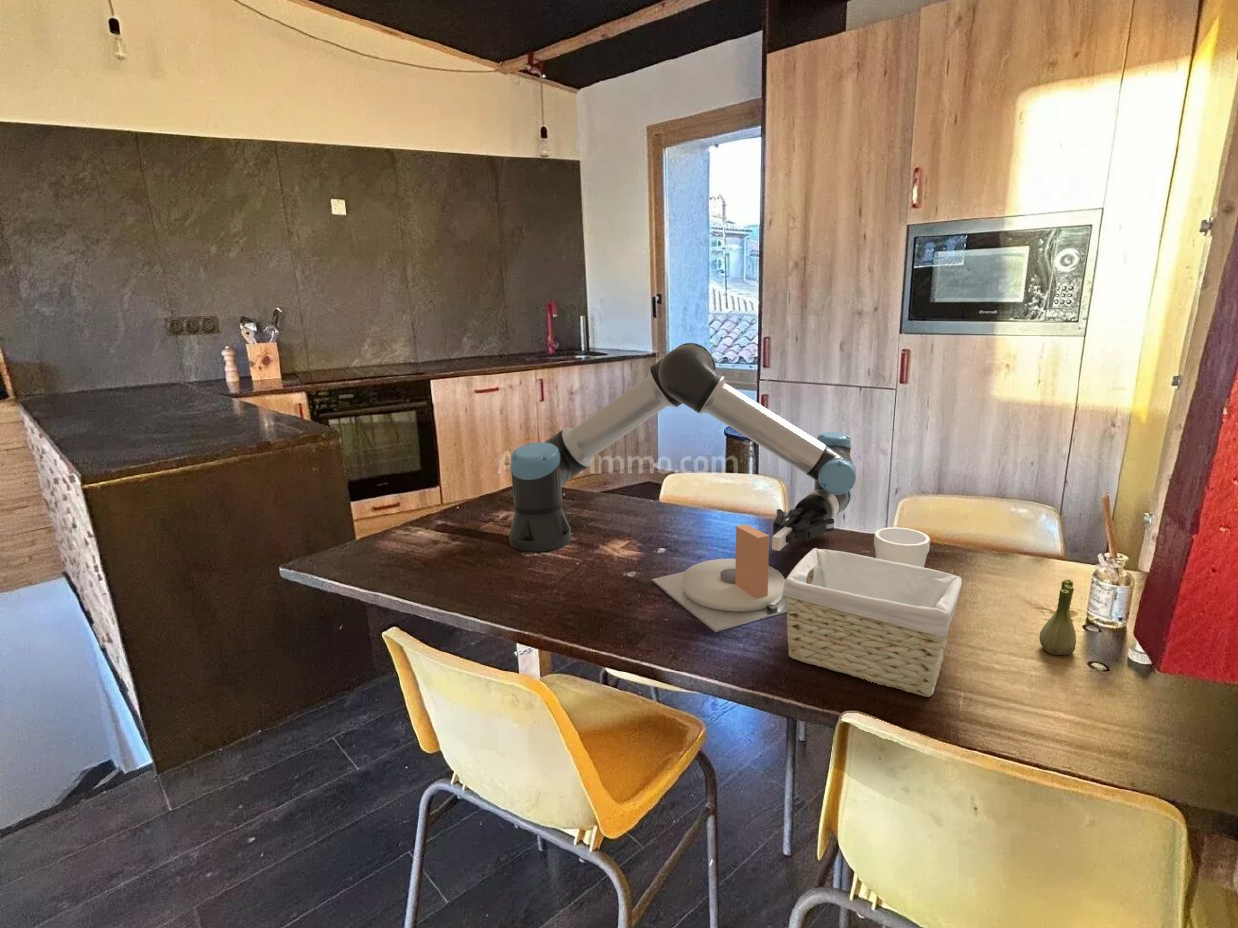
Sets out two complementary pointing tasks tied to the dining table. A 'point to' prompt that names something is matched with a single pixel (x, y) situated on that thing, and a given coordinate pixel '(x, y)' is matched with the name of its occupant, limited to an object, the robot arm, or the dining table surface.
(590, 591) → the dining table surface
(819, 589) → the storage basket
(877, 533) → the foam cup
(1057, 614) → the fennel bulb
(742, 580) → the dial
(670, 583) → the base plate
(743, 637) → the dining table surface
